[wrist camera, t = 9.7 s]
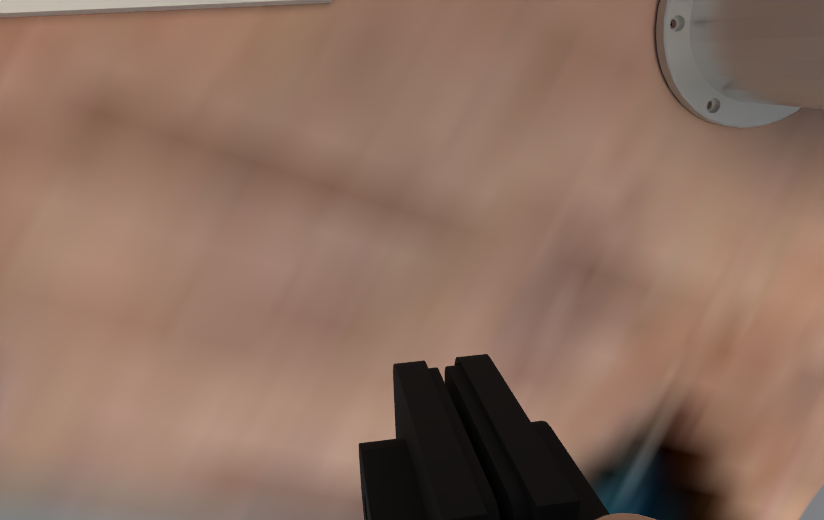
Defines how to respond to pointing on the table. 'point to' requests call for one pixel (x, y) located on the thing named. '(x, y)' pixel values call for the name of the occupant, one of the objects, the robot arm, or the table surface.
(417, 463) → the robot arm
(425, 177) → the table surface
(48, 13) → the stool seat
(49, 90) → the table surface
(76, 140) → the table surface
